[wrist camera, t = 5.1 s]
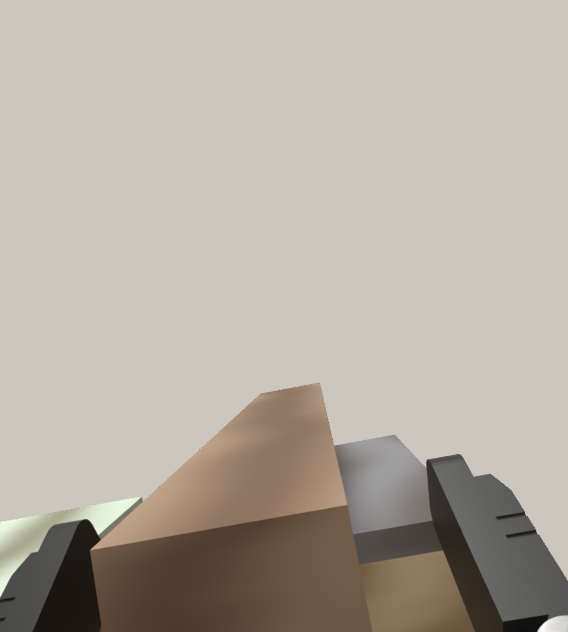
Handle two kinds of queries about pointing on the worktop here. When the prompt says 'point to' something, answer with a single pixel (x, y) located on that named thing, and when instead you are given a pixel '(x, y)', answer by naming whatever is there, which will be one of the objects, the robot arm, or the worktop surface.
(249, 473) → the walnut bar
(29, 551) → the tower
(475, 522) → the robot arm
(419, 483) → the tower
